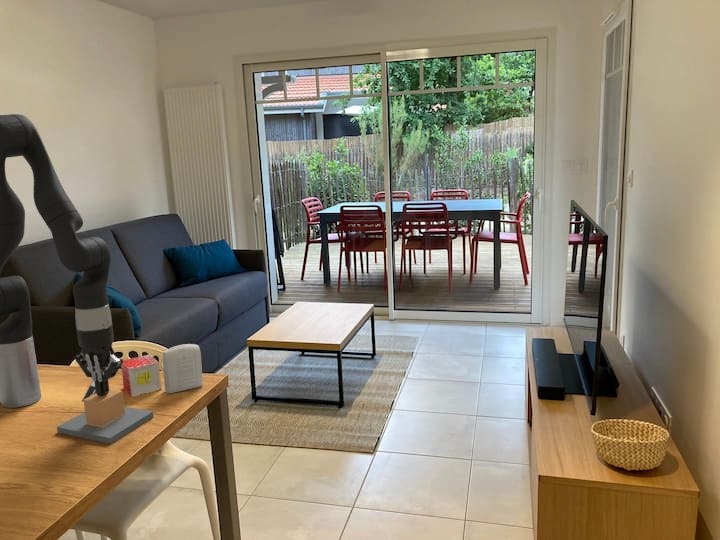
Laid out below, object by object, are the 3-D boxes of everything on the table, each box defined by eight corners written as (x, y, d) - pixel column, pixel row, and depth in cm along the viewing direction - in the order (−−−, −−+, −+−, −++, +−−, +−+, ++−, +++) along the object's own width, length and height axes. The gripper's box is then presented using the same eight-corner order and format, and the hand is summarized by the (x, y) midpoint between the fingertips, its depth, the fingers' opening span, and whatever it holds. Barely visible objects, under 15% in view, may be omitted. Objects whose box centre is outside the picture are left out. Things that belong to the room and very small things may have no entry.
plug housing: (86, 423, 138) (83, 399, 137) (109, 410, 144) (106, 388, 143) (102, 426, 136) (99, 402, 135) (125, 413, 142) (122, 390, 141)
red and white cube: (131, 397, 156) (128, 369, 154) (123, 387, 162) (120, 360, 160) (161, 389, 160) (159, 362, 159) (152, 380, 167) (150, 354, 165)
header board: (57, 432, 137) (55, 418, 136) (103, 407, 150) (101, 394, 149) (110, 444, 131) (108, 429, 131) (153, 417, 144) (152, 403, 143)
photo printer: (200, 381, 165) (196, 339, 163) (205, 386, 162) (201, 343, 159) (163, 390, 160) (159, 347, 157) (167, 395, 156) (163, 351, 154)
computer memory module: (92, 378, 168) (107, 376, 168) (92, 381, 168) (107, 379, 169) (81, 399, 154) (97, 397, 154) (81, 403, 154) (98, 401, 155)
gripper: (59, 326, 134) (69, 397, 138) (103, 332, 129) (112, 405, 133) (85, 317, 141) (94, 385, 145) (128, 322, 136) (136, 392, 140)
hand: (103, 394), depth 139 cm, fingers closed
